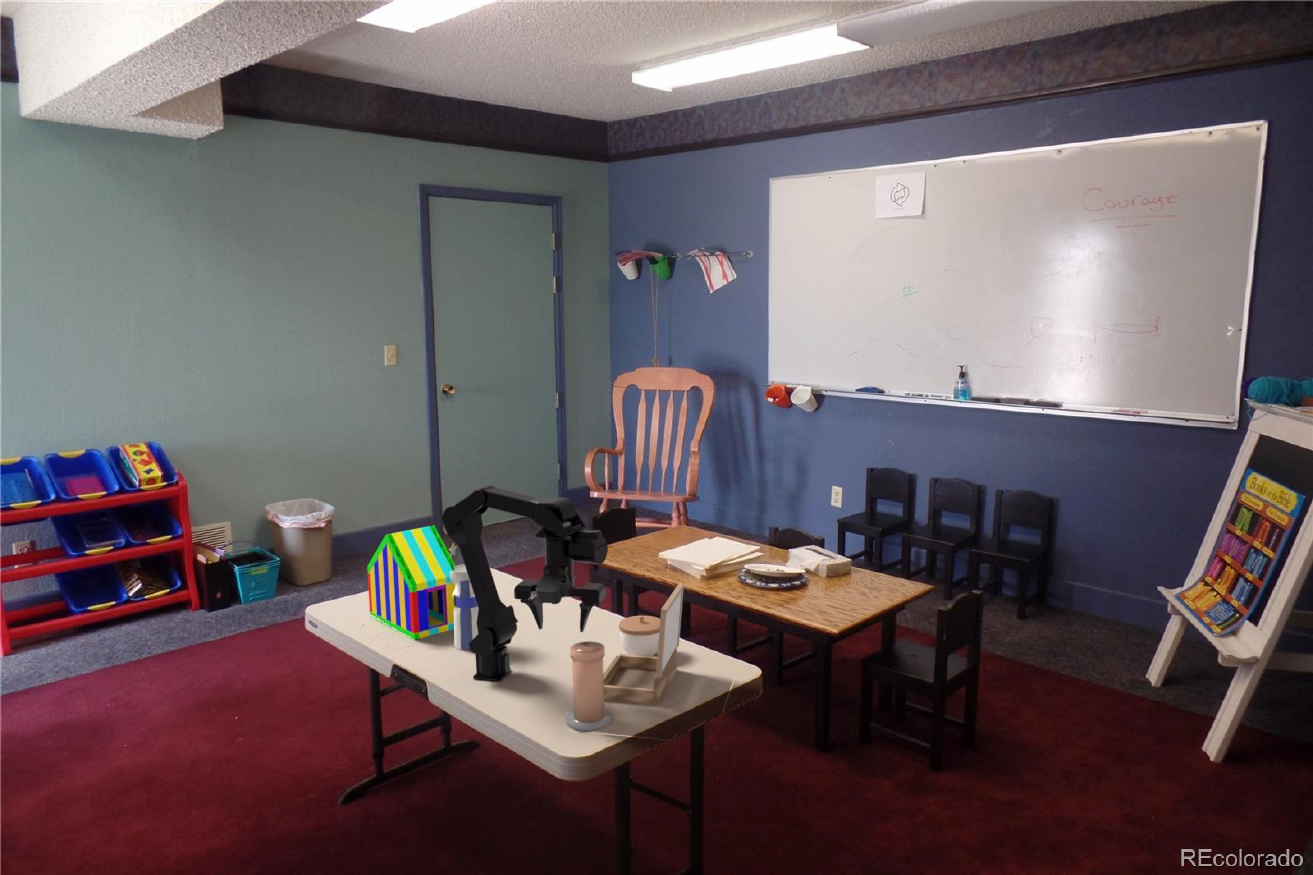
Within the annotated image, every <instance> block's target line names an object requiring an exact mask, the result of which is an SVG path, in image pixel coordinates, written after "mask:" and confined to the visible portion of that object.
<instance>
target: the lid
mask: <svg viewBox="0 0 1313 875" xmlns="http://www.w3.org/2000/svg"><path fill="white" fill-rule="evenodd" d="M684 585H685V584H684V583H681V582H679V583H678V584H677V586H675V588H674V590H673V591H672V593H671V594H670V596H669V597H668V599H667V600H666V602H665V603H664V605H663V606H662V607H661V609H660V629H659V642H658V652H657V656H656V657H657V669H656V678H661V677H662V671H663V669H664V668H665V666H666V664H667V662H668V660H669V659H670V657H671V655H672V653H673V652H674V650H675V648H676V647H677V648H678V647H679V646H680V637H681V624H682V622H681V621H682V611H683V600H684V599H683V598H684V597H683V596H684V588H685V586H684Z"/></svg>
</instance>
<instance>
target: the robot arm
mask: <svg viewBox="0 0 1313 875" xmlns="http://www.w3.org/2000/svg"><path fill="white" fill-rule="evenodd" d="M490 509H493V510H497V511H501V512H506V513H510V514H513V515H518V516H522V517H525V518H528V519H530V520H531V521H532V522H533V523H534V524H535V525H537V526H540V527H541V529H540V530H539V531H537V532H536V533H535V537H536V538H540V539H541V538H542V539H544V556H545V557H544V558H545V565H543V574H542V576H541V577H542V578H540V579H529V578H528V579H527V578H524V579H523V580H522V581H521V582H519V583H518V584H517V585H515V587H514V590H513V597H514V599H515V600H520V603H522V604H525V606H528V608H529V609H530V611H531V613H532V615H533V618H534V621H535V623H536V625H537V627H538V630H542V629H543V627H544V610H543V609H544V606H543V605H544V604H552V605H557V604H559V603H561V601H562V599H563V598H569V597H579V598H580V599H579V600H580V601H581V602H580V603H579V609H580V618H579V619H580V620H579V632H580V633H583V632H584V631H585V629H586V628H585V627H586V625H587V622H588V619H589V616H590V614H591V611H592V609H593V607H595V606H596V605H597V604H600V603H601V602H602V601H603V600H604V599H605V597H607V588H606V586H605V584H604V583H603V582H602V583H600V582H599V583H598V582H587V583H585V585H584V586H583V587H579V586H577V587H576V586H574V585H575V584H576V579H575V578H574V566H575V563H576V562H577V563H587V564H593V565H602V564H603V563H604V562H605V561H606V559H607V556H608V552H609V551H608V550H609V545H608V543H607V540H606V538H605V536H603V531H602V530H599V529H597V530H596V529H595V530H589V529H587V528H588V527H587V525H586V523H585V522H584V520H583V519H582V518H581V516H580V514H579V513H578V512H577V510H576V507H575V504H574V503H573V501H572V500H571V499H569V498H567V497H561V496H560V497H559V496H558V497H557V496H556V497H555V496H553V497H552V496H551V497H535V496H531V495H526V494H524V493H519V492H515V491H511V490H506V489H502V488H498V487H495V486H493V485H485V486H481V487H478V488H476V489H475V490H474V491H473V492H472V493H471V494H469V495H468V496H466V497H465V498H463V499H461V500H460V501H459V502H457V503H455V504H453V505H451V506H448V507H446V508H445V509H444V510H443V513H442V515H441V522H442V525H443V527H444V529H445V532H446V534H447V535H448V537H449V538H450V539H451V540H452V541H453V542H454V544H456V546H457V547H458V548H459V550H460V554H461V557H462V560H463V564H465V567H466V570H467V573H468V576H469V579H470V583H471V586H472V589H473V592H474V595H475V598H476V601H477V605H478V616H477V622H476V624H477V629H478V635H477V636H476V637H475V638H474V639H473V640H472V641H471V642H470V643H469V647H470V650H469V651H470V652H471V654H474V655H475V669H476V670H475V672H476V673H475V674H474V675H473V676H472V678H473V679H475V680H485V681H497V682H499V681H502V680H503V679H504V677H506V676H507V674H508V673H510V671H512V668H511V665H510V663H511V662H510V653H508V646H507V645H509V644H511V642H512V639H513V637H514V636H515V635H516V632H517V631H518V624H517V623H519V621H518V619H517V618H516V615H515V610H514V607H513V605H509V606H506V604H504V602H502V600H501V599H500V595H499V593H498V590H497V589H498V588H497V586H496V583H495V580H494V577H493V573H492V571H491V568H490V564H489V561H488V558H487V556H486V555H487V554H486V552H485V549H484V545H483V542H482V532H483V526H484V524H483V518H482V515H483V516H484V514H485V513H486V512H488V511H489V510H490ZM569 524H570V525H569ZM567 525H569V526H567Z"/></svg>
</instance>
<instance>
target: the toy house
mask: <svg viewBox="0 0 1313 875" xmlns="http://www.w3.org/2000/svg"><path fill="white" fill-rule="evenodd" d="M455 566H456V564H455V562H454V561H453V558H452V556H451V557H450V553H449V551H448V549H447V547H446V545H445V543H444V542H443V540H442V538H441V535H440V534H439V532H438V530H437V528H436V527H435V525H431V526H430V525H428V526H423V527H418V528H413V529H409V530H402V531H398V532H392V533H388V534H385V536H384V537H383V539H382V541H381V542H380V544H379V546H378V547H377V549H376V550H375V553H374V554H373V556H372V558H371V560H370V561H369V563H368V565H367V566H366V567H367V568H366V569H367V584H368V585H367V586H368V600H369V601H368V602H369V603H368V604H369V615H370V614H371V615H373V616H375V617H376V618H379V619H380V620H381V621H383V622H384V623H387V624H388V625H390V626H391V627H394V628H395V629H397V630H398V631H400V632H402V633H404V634H406V635H407V636H410V637H411V638H413V639H414V640H413V639H412V640H413V641H416V640H415V639H418V640H420V639H419V638H421V637H425V636H428V637H432V636H435V635H438V634H437V633H439V634H441V633H440V632H442V633H446V632H449V631H452V629H453V630H454V608H455V607H454V606H453V605H452V595H453V592H454V590H455V586H456V583H452V581H451V579H450V572H451V571H455V569H454V567H455ZM445 631H446V632H445ZM434 634H435V635H434ZM431 635H432V636H431ZM407 636H406V637H407ZM416 637H417V638H416ZM411 638H410V639H411ZM425 638H426V637H425ZM421 639H422V638H421Z"/></svg>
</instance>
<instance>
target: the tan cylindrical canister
mask: <svg viewBox="0 0 1313 875" xmlns="http://www.w3.org/2000/svg"><path fill="white" fill-rule="evenodd" d="M569 648H570V652H569V653H570V659H572V660H571V661H572V662H571V663H572V696H573V698H572V699H573V700H572V703H573V710H574V719H575V720H576V721H579V722H582V723H593V722H597V721H600V720H601V719H603V718H604V709H605V700H604V676H603V674H604V657H605V652H606V651H605V645H604V644H603V643H601V642H598V641H591V640H590V641H587V640H586V641H582V642H581V641H579V642H576V643H574V644H572V645H571V646H570V647H569Z"/></svg>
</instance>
